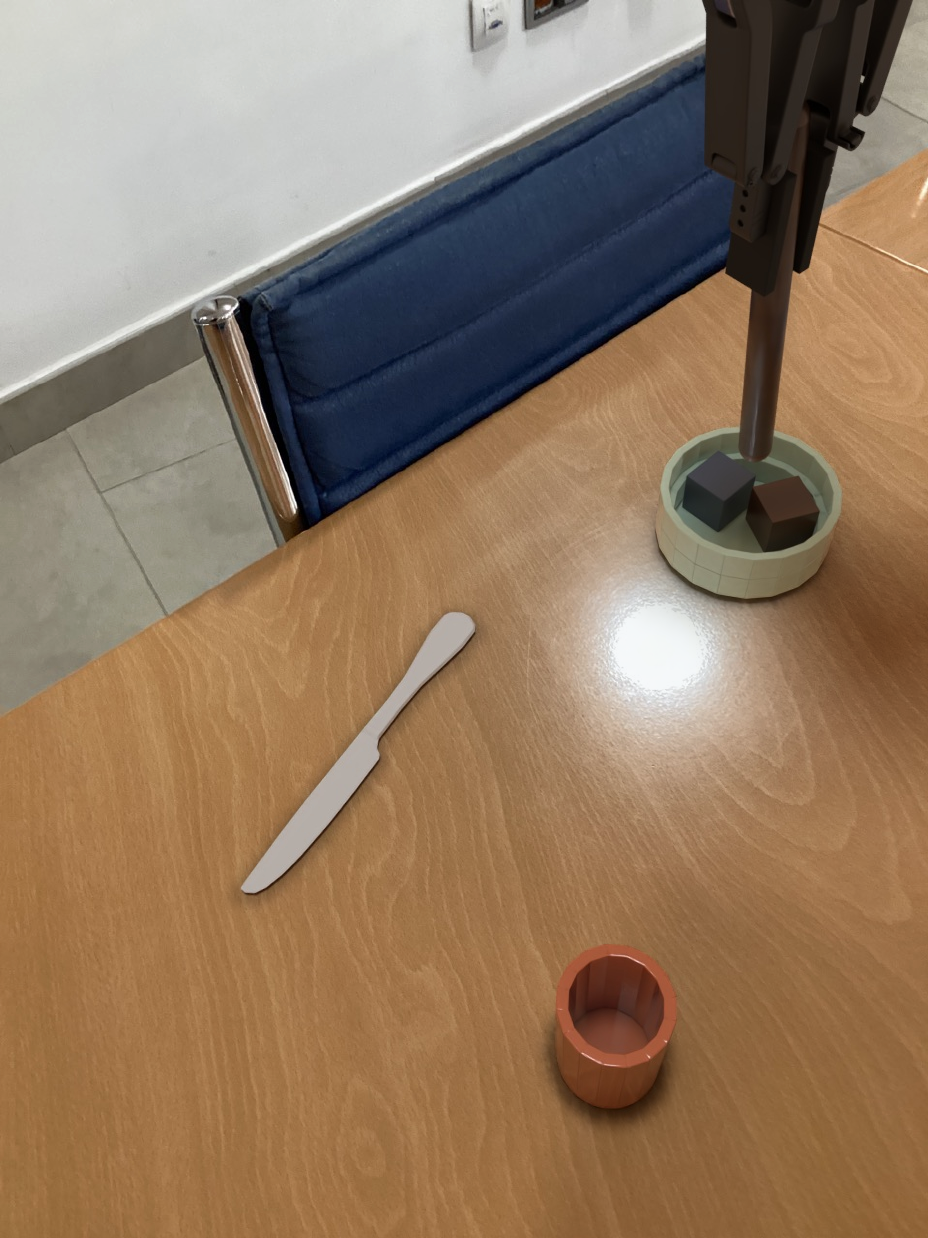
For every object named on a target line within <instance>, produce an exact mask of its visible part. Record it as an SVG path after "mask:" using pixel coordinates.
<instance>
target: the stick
mask: <svg viewBox="0 0 928 1238" xmlns="http://www.w3.org/2000/svg"><path fill="white" fill-rule="evenodd" d="M810 120H811V112H810V108H809V106H808V104H807V102H806V101H805V100H804V102H803V106H802V110H801V114H800V118H799V122H798V126H797V130H796V134H795V138H794V142H793V146H792V150H791V154H790V158H789V162H788V166H787V170H789V171H791V172H793V173H795V174H797V180H796V185H795V190H794V195H793V200H792V205H791V210H790V215H789V220H788V225H787V230H786V235H785V240H784V245H783V250H782V255H781V260H780V265H779V270H778V274H777V279H776V284H775V289H774V291H773V292H771V293H770V294H768V295H767V296H765V297H763V296H761V295H760V294H758V293H756V292H755V291H753V290H751V289H750V290H751V291H750V302H749V311H748V312H749V314H748V324H747V325H748V326H747V336H746V349H745V359H744V372H743V373H744V374H743V384H742V397H741V408H740V409H741V410H740V421H739V427H740V431H739V443H738V448H739V452H740V454H741V456H742V457H743V458H744V459H746V460H747V461H750V462H759V461H762V460H764V459H765V458H767V457H768V456H769V454H770V452H771V450H772V445H773V437H774V430H775V427H776V420H777V419H776V418H777V411H778V402H779V393H780V386H781V385H780V384H781V376H782V367H783V359H784V350H785V342H786V333H787V326H788V325H787V324H788V317H789V308H790V298H791V290H792V283H793V282H792V281H793V275H794V271H793V266H794V257H795V248H796V240H797V231H798V223H799V214H800V206H801V197H802V189H803V180H804V171H805V163H806V154H807V146H808V137H809V129H810Z"/></svg>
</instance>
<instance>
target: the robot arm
mask: <svg viewBox="0 0 928 1238" xmlns="http://www.w3.org/2000/svg"><path fill="white" fill-rule="evenodd" d="M913 1H914V0H701V2H702V5H703V9H704V11H705V53H704V54H705V59H704V61H705V63H704V64H705V65H704V67H705V69H704V136H703V137H704V139H703V140H704V146H703V147H704V148H703V149H704V150H703V156H704V157H703V160H704V161H703V162H704V166H706V168H708V169H710V170H712V171H714V172H715V173H717V174H719V175H721V176H723V177H724V178H727V179H728V180H730V181H732V182H733V183H734V184H733V185H734V186H733V193H732V198H731V206H730V213H729V218H728V226H729V231H730V238H729V243H728V244H729V245H728V250H727V258H726V263H725V270H724V274H725V275H727V276H729V277H730V278H731V279H734V281H736V282H738V283H740V284H742V285H743V286H745V287H747V288H748V289H750V290H753V291H755V292H756V293H758V294H760V295H761V296H763V297H765V296H767V295H768V294H770V293H771V292H773V291H774V289H775V284H776V279H777V274H778V270H779V265H780V260H781V255H782V250H783V245H784V240H785V235H786V230H787V225H788V220H789V215H790V210H791V205H792V200H793V195H794V190H795V185H796V180H797V174H795V173H793V172H791V171H789V170H787V166H788V162H789V158H790V154H791V150H792V146H793V142H794V138H795V134H796V130H797V126H798V122H799V118H800V114H801V110H802V106H803V102H804V100H805V101H806V102H807V104H808V106H809V108H810V112H811V120H810V129H809V137H808V146H807V154H806V163H805V171H804V180H803V189H802V197H801V206H800V214H799V223H798V231H797V240H796V248H795V257H794V266H793V273H794V272H795V274H798V275H801V274H802V273H804V272H805V271H807V270H808V269H810V265H811V261H812V256H813V252H814V248H815V243H816V239H817V235H818V232H819V231H818V230H819V226H820V221H821V217H822V213H823V208H824V205H825V199H826V196H827V193H828V190H829V187H830V184H831V180H832V175H833V171H834V166H835V163H836V157H837V153H838V149H839V147H840V148H842V149H844V150H846V151H847V152H853V151H855V150H856V149H857V148H858V147H859V146H860V145H861V144H862V142H863V140H864V137H865V135H866V131H864V130H862V129H860V128H858V127H856V126H854V120H855V119H856V117H858V116H859V115H861V116H863V117H869V116H871V115H872V114H873V113H874V112H875V111H876V109H877V107H878V106H879V103H880V101H881V99H882V95H883V93H884V89H885V86H886V83H887V80H888V77H889V74H890V71H891V67H892V66H893V62H894V59H895V56H896V53H897V49H898V47H899V43H900V42H901V41H900V40H901V38H902V35H903V32H904V29H905V26H906V23H907V20H908V17H909V13H910V11H911V8H912V4H913ZM862 77H864V78H863V81H861V80H862Z"/></svg>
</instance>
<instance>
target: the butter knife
mask: <svg viewBox="0 0 928 1238" xmlns="http://www.w3.org/2000/svg"><path fill="white" fill-rule="evenodd" d="M475 631H476V623H475V622H474V621H473V619H472V617H471V616H469V615H468V614H466V613H464V612H458V611H450V612H448V613H445V614H443V616H442V617H441V618H440V619H439V620H438V622H437V623H436V624H435V626H433V628H432V629H431V630H430V631H429V633H428V635H427V637H426V639H425V640H424V642H423V644H422V645H421V647H420V649H419V650H418V652H417V654H416V655H415V656H414V659H413V660H412V662H411V664H410V666H409V668H408V669H407V671H406V673H405V675H404V677H403V678H401V680H400V682H399V683H398V684H397V686H396V687H395V688H394V690H393V692H392V693H391V694H390V695H389V696H388V698H387V700H386V701H385V702H384V703H383V704H382V705H381V707H380V708H379V709H378V710H377V711H376V713H375V714H374V715H373V716H372V717H371V719H370V720H369V721H368V722H367V724H366V725H365V726H364V727H363V729H362V730H361V731H360V732H359V734H358V735H356V737H355V739H354V740H353V741H352V742H351V743H350V744H349V746H348V747H347V748H346V750H344V752H343V753H342V755H341V756H340V757H339V758H338V759H337V761H335V763H334V764H333V765H332V767H331V768H330V770H329V771H328V772H327V773H326V775H325V776H324V777H323V778H322V779H321V781H320V782H319V783H318V784H317V785H316V787H315V788H314V789H313V790H312V792H311V793H310V794H309V795H308V797H307V798H306V799H305V800H304V802H303V803H302V804H301V806H300V807H299V808H298V809H297V811H296V812H295V813H294V815H292V817H291V818H290V820H289V821H288V823H287V824H286V825H285V826H284V827H283V829H282V830H281V832H280V833H279V834H278V835H277V837H276V838H275V839H274V841H273V842H272V844H271V845H270V847H269V848H268V849H267V850H266V851H265V853H264V855H262V857H261V859H260V860H259V861H258V862H257V864H256V865H255V867H254V868H253V870H252V871H251V872H250V873H249V874H248V876H247V878H246V879H245V880H244V882H243V883H242V885H241V887H240V890H241V891H242V892H243V893H247V894H248V893H249V894H255V893H258V892H260V891H262V890H263V889H266V888H267V887H269V886H270V885H271V884H272V883H274V882H275V881H276V880H277V879H278V878H280V877H281V876H282V875H283V874H284V873H285V872H287V870H288V869H290V867H291V866H292V865H293V864H295V862H297V861H298V859H299V858H301V856H302V855H303V854H304V853H305V852H306V850H307V849H309V847H310V846H311V845H312V844H313V842H314V841H315V840H316V839H317V838H318V837H319V836H320V834H322V832H323V831H324V829H325V828H326V827H328V825H329V824H330V823H331V821H333V819H334V818H335V817H336V815H337V814H338V812H339V811H340V810H342V808H343V806H344V805H345V803H347V801H348V800H349V799H350V797H351V796H352V795H353V794H354V792H356V790H357V788H358V787H359V786H360V784H361V783H362V782H363V780H365V778H366V776H367V775H368V774H369V773H370V771H371V770H372V769H373V767H374V766H375V765H376V763H377V762H378V761H379V759H380V755H381V754H380V752H379V750H378V744H379V740H380V738H381V737H382V736H383V734H384V733H385V732H386V730H388V728H389V727H390V725H391V724H392V723H393V721H394V720H395V719H396V718H397V716H398V715H399V713H401V711H402V710H403V709H404V707H405V706H406V705H407V704H408V703H409V702H410V700H411V699H412V698H413V697H414V696H415V694H416V693H417V692H418V691H419V690H420V689H421V687H422V686H423V685H424V684H426V683H427V682H428V681H429V680H430V679H431V678H432V677H433V676H434V675H436V673H437V672H438V671H440V670H441V668H443V667H444V666H445V665H446V664H447V663H448V662H449V661H450V660H451V659H452V658H453V657H454V656H455V655H457V653H459V651H461V649H463V647H464V646H465V645H466V643H467V642H468V641H469V640H470V638H471V637H472V636H473V634H474V633H475Z"/></svg>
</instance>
